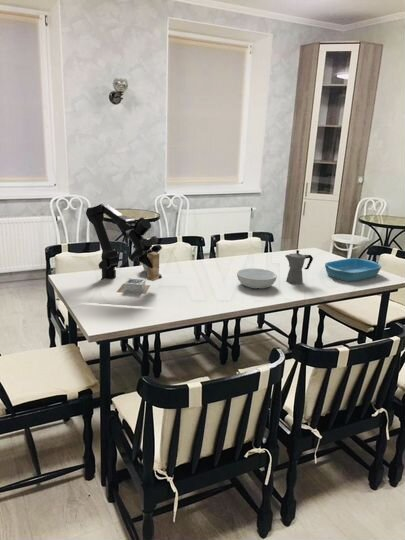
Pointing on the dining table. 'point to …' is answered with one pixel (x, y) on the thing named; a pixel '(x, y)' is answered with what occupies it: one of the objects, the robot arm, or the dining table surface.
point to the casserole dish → (352, 269)
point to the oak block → (153, 272)
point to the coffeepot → (296, 267)
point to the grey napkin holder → (147, 268)
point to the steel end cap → (134, 285)
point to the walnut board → (139, 293)
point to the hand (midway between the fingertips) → (155, 266)
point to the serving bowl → (256, 277)
